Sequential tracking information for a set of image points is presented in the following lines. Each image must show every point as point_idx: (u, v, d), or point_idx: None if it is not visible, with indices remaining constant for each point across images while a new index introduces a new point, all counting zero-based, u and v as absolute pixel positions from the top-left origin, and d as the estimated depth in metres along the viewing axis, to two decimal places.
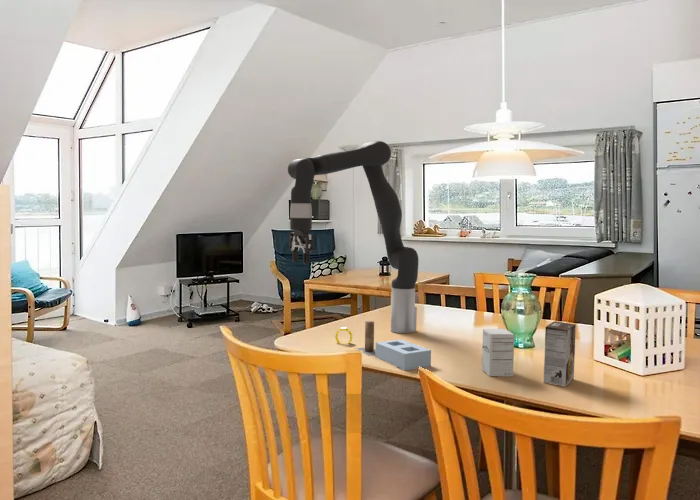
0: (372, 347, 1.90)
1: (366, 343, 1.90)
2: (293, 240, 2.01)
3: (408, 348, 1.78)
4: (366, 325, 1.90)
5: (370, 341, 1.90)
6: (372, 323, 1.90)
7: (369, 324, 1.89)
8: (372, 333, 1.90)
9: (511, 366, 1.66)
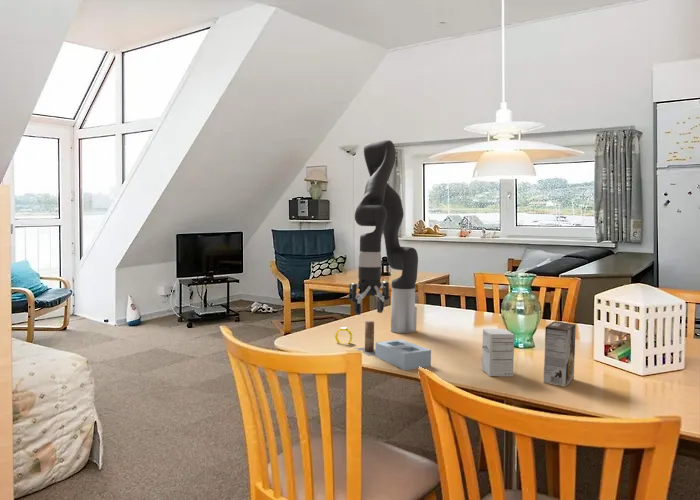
0: (372, 347, 1.90)
1: (366, 343, 1.90)
2: (365, 291, 1.87)
3: (408, 348, 1.78)
4: (366, 325, 1.90)
5: (370, 341, 1.90)
6: (372, 323, 1.90)
7: (369, 324, 1.89)
8: (372, 333, 1.90)
9: (511, 366, 1.66)
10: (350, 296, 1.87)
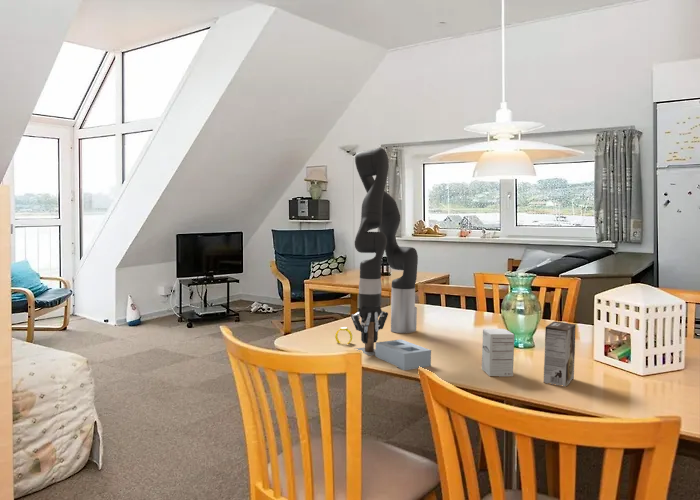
0: (372, 347, 1.90)
1: None
2: (367, 319, 1.88)
3: (408, 348, 1.78)
4: None
5: (370, 341, 1.90)
6: (372, 323, 1.90)
7: (369, 324, 1.89)
8: (372, 333, 1.90)
9: (511, 366, 1.66)
10: (356, 326, 1.89)
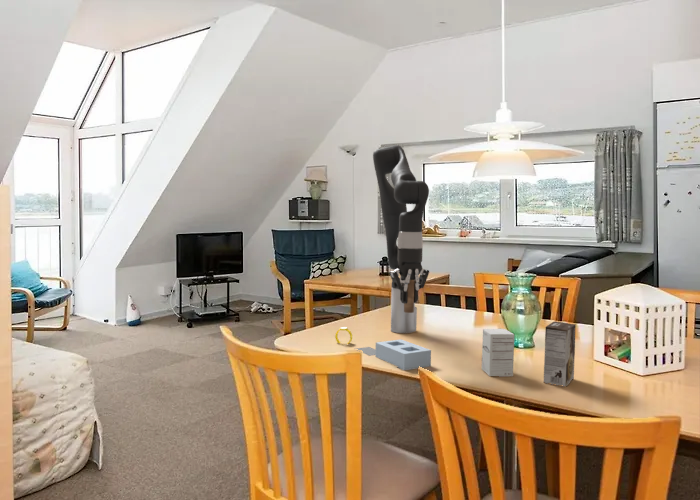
0: (412, 307, 1.74)
1: (406, 303, 1.74)
2: (407, 276, 1.72)
3: (408, 348, 1.78)
4: None
5: (410, 300, 1.74)
6: (412, 281, 1.73)
7: (409, 282, 1.73)
8: (412, 292, 1.74)
9: (511, 366, 1.66)
10: (395, 284, 1.73)
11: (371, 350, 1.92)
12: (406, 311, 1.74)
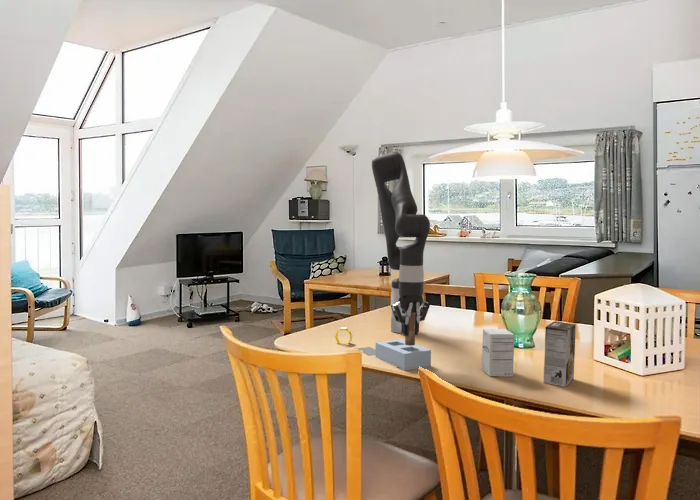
0: (413, 340, 1.75)
1: (407, 336, 1.75)
2: (409, 309, 1.73)
3: (408, 348, 1.78)
4: None
5: (412, 333, 1.74)
6: (413, 314, 1.74)
7: (410, 315, 1.74)
8: (413, 325, 1.74)
9: (511, 366, 1.66)
10: (396, 317, 1.74)
11: (371, 350, 1.92)
12: (407, 344, 1.75)
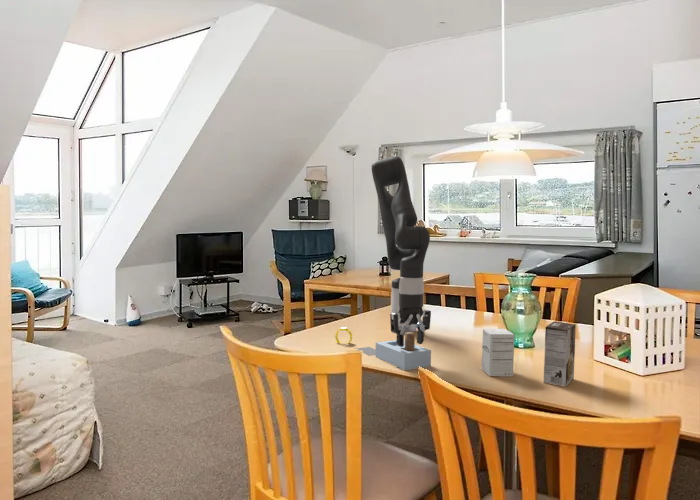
0: None
1: None
2: (407, 320, 1.73)
3: None
4: (406, 337, 1.75)
5: None
6: (413, 335, 1.74)
7: (409, 336, 1.74)
8: (413, 346, 1.75)
9: (511, 366, 1.66)
10: (392, 327, 1.73)
11: (371, 350, 1.92)
12: None
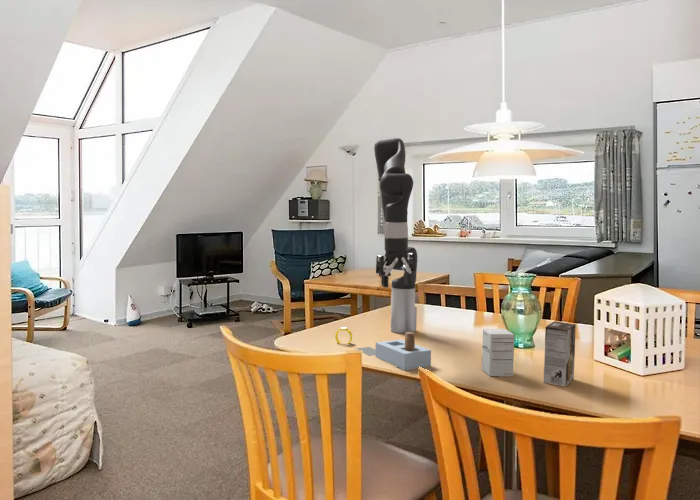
0: None
1: None
2: (393, 263, 1.81)
3: None
4: (406, 337, 1.75)
5: None
6: (413, 335, 1.75)
7: (409, 336, 1.74)
8: (413, 346, 1.75)
9: (511, 366, 1.66)
10: (377, 269, 1.82)
11: (371, 350, 1.92)
12: None
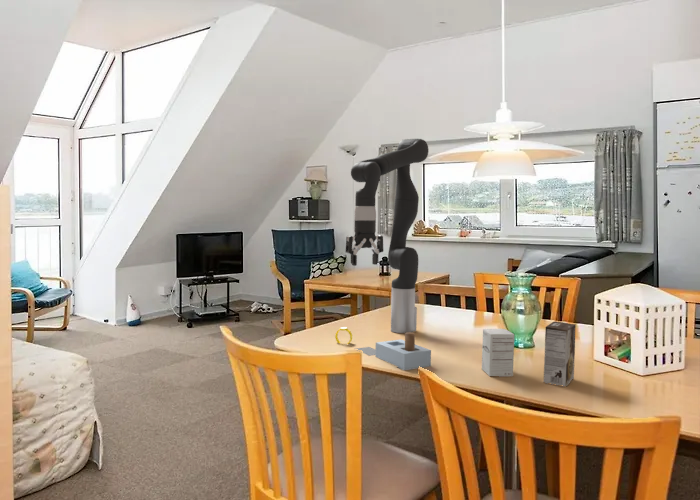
0: None
1: None
2: (361, 243, 1.99)
3: None
4: (406, 337, 1.75)
5: None
6: (413, 335, 1.75)
7: (409, 336, 1.74)
8: (413, 346, 1.75)
9: (511, 366, 1.66)
10: (347, 248, 1.99)
11: (371, 350, 1.92)
12: None
